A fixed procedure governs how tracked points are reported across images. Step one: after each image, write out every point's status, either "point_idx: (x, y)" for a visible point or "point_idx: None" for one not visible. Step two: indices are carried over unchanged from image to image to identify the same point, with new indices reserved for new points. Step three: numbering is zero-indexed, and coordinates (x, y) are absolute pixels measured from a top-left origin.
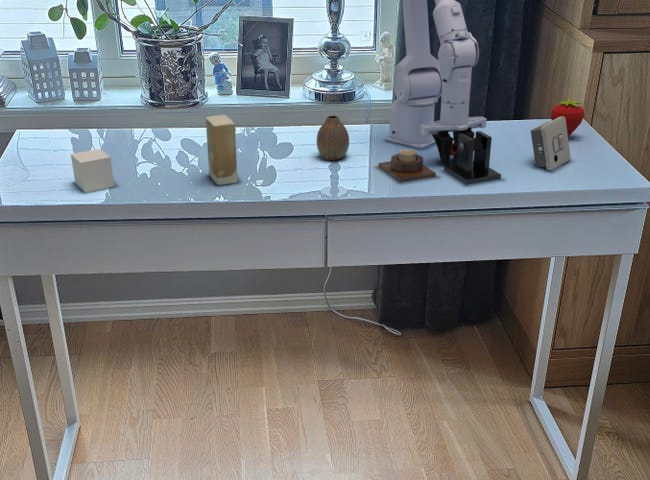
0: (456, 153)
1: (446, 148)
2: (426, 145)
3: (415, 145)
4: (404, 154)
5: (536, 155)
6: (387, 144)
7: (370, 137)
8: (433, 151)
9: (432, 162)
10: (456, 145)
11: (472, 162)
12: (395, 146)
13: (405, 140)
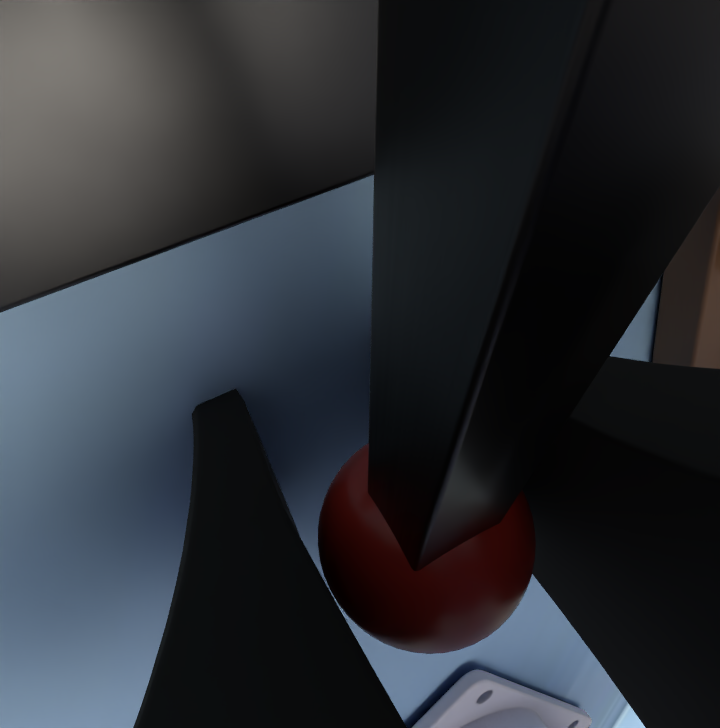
0: (351, 463)
1: (667, 381)
2: (425, 725)
3: (504, 689)
4: None
5: None
6: (600, 667)
7: (617, 718)
8: (394, 659)
9: None
10: (418, 588)
11: (34, 224)
12: (580, 655)
13: (544, 725)
